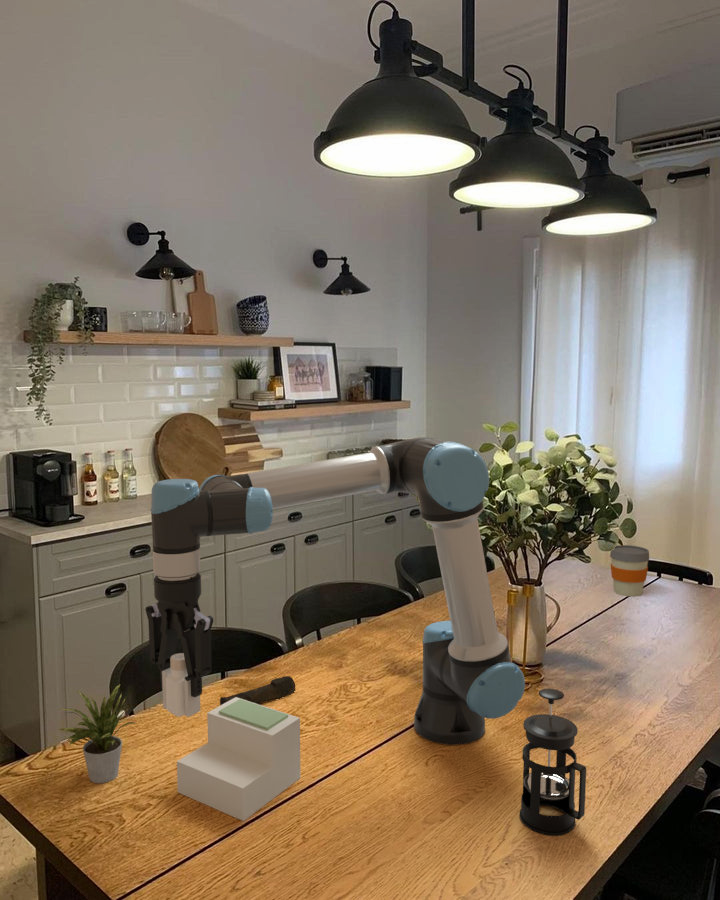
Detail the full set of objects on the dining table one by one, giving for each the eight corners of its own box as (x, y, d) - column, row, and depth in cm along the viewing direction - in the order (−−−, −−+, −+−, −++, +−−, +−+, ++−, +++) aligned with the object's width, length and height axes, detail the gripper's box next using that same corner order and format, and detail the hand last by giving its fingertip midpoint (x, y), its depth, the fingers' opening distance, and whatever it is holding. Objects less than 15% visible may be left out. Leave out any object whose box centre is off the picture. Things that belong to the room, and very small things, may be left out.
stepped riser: (300, 777, 142) (299, 715, 140) (243, 821, 129) (242, 752, 127) (237, 753, 151) (235, 694, 149) (177, 792, 137) (175, 727, 136)
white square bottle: (185, 703, 128) (184, 650, 127) (198, 711, 126) (197, 656, 124) (165, 711, 126) (163, 656, 124) (177, 719, 123) (175, 663, 122)
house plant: (82, 752, 151) (79, 674, 149) (150, 753, 151) (147, 675, 149) (51, 792, 137) (47, 707, 135) (126, 794, 137) (123, 709, 135)
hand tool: (226, 718, 166) (225, 698, 166) (218, 711, 169) (218, 692, 169) (300, 697, 177) (300, 678, 176) (292, 691, 180) (292, 672, 179)
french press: (505, 818, 130) (508, 691, 127) (533, 795, 136) (537, 674, 134) (568, 848, 122) (573, 713, 119) (594, 822, 128) (599, 694, 126)
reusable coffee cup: (611, 597, 251) (613, 553, 249) (605, 586, 263) (607, 544, 261) (651, 599, 249) (653, 555, 247) (643, 587, 261) (645, 545, 259)
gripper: (233, 576, 121) (236, 713, 124) (157, 561, 131) (162, 688, 133) (199, 588, 115) (203, 732, 118) (123, 571, 124) (128, 705, 127)
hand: (181, 709), depth 126 cm, fingers closed on white square bottle, 4 cm apart
